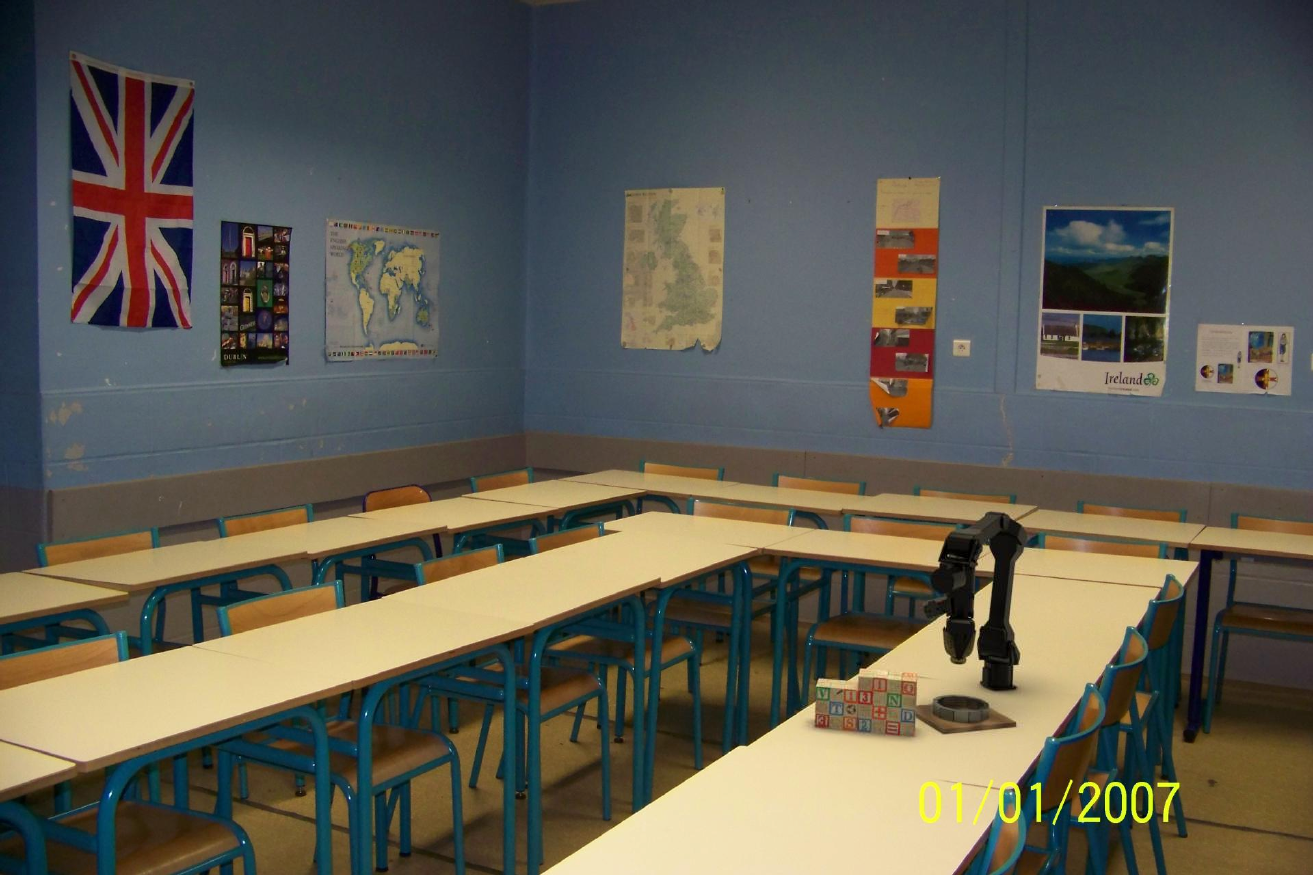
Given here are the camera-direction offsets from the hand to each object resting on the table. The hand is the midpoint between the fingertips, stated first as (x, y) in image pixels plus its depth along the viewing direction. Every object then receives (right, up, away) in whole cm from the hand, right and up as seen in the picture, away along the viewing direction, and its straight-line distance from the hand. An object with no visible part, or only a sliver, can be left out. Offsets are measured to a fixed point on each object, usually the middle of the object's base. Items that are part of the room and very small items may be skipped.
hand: (958, 655), depth 268 cm
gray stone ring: (-1, -13, -6) cm, 14 cm away
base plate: (-1, -13, -6) cm, 14 cm away
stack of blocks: (-23, -14, -12) cm, 30 cm away
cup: (0, -2, 0) cm, 2 cm away
